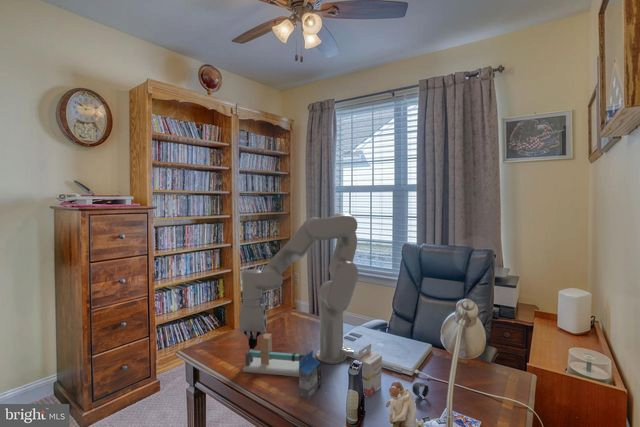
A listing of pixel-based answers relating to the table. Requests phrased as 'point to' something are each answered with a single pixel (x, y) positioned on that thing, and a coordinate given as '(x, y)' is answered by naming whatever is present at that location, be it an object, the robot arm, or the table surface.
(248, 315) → the robot arm
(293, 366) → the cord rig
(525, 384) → the table surface
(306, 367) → the label tape box
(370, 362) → the ink cartridge box
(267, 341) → the tan slotted box
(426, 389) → the wristwatch
